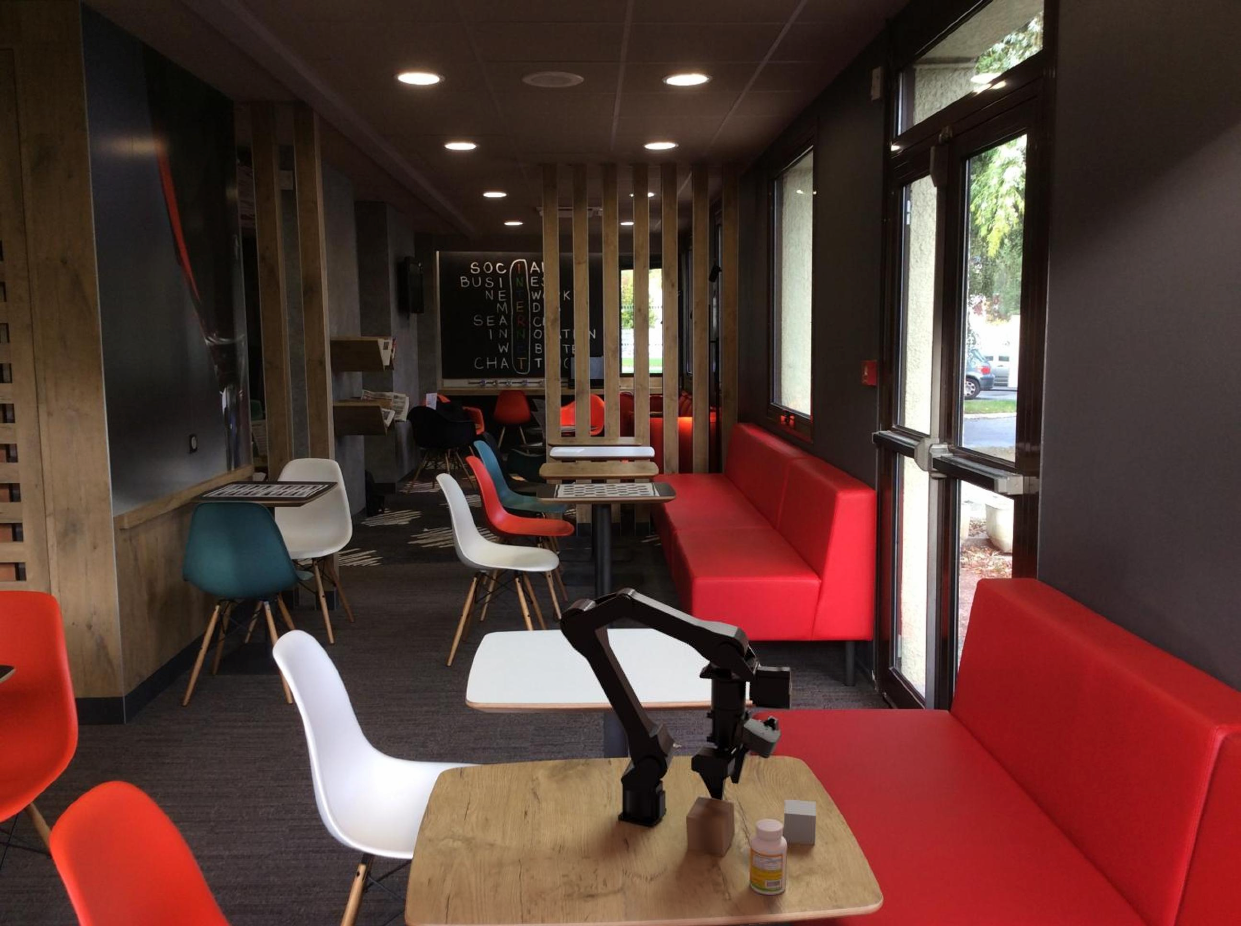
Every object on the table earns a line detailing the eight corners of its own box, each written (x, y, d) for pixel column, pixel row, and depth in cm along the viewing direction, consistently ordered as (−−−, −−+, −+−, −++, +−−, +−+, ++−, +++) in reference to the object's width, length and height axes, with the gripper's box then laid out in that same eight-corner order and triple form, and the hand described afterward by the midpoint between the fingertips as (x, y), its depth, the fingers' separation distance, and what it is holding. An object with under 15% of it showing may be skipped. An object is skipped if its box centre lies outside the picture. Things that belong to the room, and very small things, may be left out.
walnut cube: (700, 826, 171) (687, 848, 166) (698, 795, 170) (686, 816, 164) (735, 834, 169) (723, 856, 164) (734, 802, 167) (722, 824, 162)
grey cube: (783, 842, 169) (784, 812, 168) (784, 827, 173) (785, 799, 173) (814, 844, 168) (815, 815, 167) (815, 830, 173) (815, 801, 172)
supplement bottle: (761, 872, 159) (763, 812, 158) (792, 884, 156) (794, 823, 154) (742, 887, 155) (744, 825, 154) (774, 899, 152) (775, 837, 150)
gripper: (758, 732, 159) (756, 828, 161) (791, 693, 176) (789, 780, 178) (690, 720, 164) (689, 814, 166) (729, 683, 181) (727, 768, 183)
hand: (726, 793), depth 173 cm, fingers open, 8 cm apart
